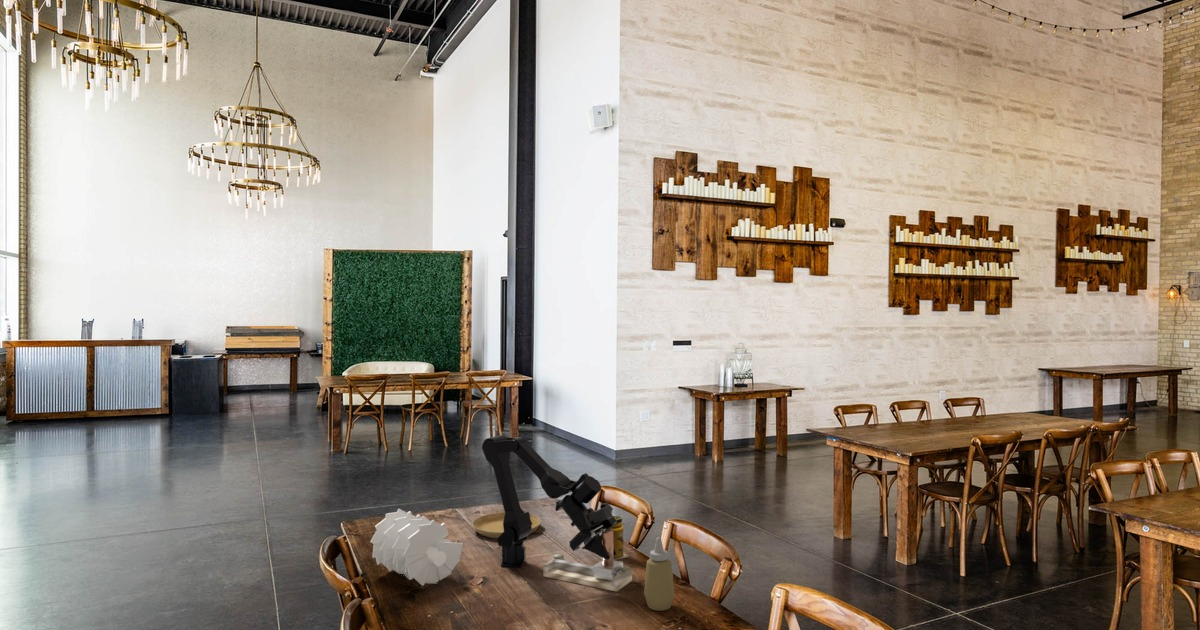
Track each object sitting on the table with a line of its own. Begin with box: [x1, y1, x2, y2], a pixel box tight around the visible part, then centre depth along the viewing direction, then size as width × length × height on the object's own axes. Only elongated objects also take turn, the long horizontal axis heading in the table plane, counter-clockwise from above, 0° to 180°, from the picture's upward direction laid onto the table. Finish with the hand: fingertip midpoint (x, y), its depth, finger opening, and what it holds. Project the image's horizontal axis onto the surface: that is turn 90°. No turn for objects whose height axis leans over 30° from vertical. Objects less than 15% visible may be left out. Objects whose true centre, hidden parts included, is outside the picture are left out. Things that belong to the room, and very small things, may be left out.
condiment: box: [593, 515, 629, 561], centre depth 227 cm, size 7×8×12 cm
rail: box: [542, 553, 633, 592], centre depth 208 cm, size 26×9×4 cm, turn 60°
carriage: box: [592, 530, 624, 581], centre depth 205 cm, size 6×7×13 cm
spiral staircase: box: [369, 507, 464, 587], centre depth 212 cm, size 18×18×25 cm
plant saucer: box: [471, 511, 542, 539], centre depth 255 cm, size 24×24×3 cm
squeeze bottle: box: [643, 537, 675, 612], centre depth 188 cm, size 8×8×18 cm
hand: (612, 557), depth 204 cm, fingers closed on carriage, 3 cm apart
